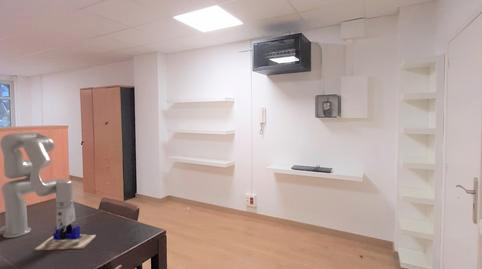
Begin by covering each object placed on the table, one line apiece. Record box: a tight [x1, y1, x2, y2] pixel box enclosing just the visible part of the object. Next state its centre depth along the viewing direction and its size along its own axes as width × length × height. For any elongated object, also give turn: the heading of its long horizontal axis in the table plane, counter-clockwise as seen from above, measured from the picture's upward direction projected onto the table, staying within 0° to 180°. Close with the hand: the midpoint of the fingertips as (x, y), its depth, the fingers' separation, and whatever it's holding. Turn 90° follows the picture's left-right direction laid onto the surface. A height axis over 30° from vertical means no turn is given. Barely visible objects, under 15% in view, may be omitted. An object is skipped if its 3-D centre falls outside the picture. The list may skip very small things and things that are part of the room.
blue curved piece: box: [52, 225, 81, 240], centre depth 143 cm, size 12×4×6 cm, turn 82°
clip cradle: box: [34, 233, 97, 251], centre depth 143 cm, size 24×14×2 cm, turn 95°
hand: (66, 236), depth 143 cm, fingers closed on blue curved piece, 5 cm apart
